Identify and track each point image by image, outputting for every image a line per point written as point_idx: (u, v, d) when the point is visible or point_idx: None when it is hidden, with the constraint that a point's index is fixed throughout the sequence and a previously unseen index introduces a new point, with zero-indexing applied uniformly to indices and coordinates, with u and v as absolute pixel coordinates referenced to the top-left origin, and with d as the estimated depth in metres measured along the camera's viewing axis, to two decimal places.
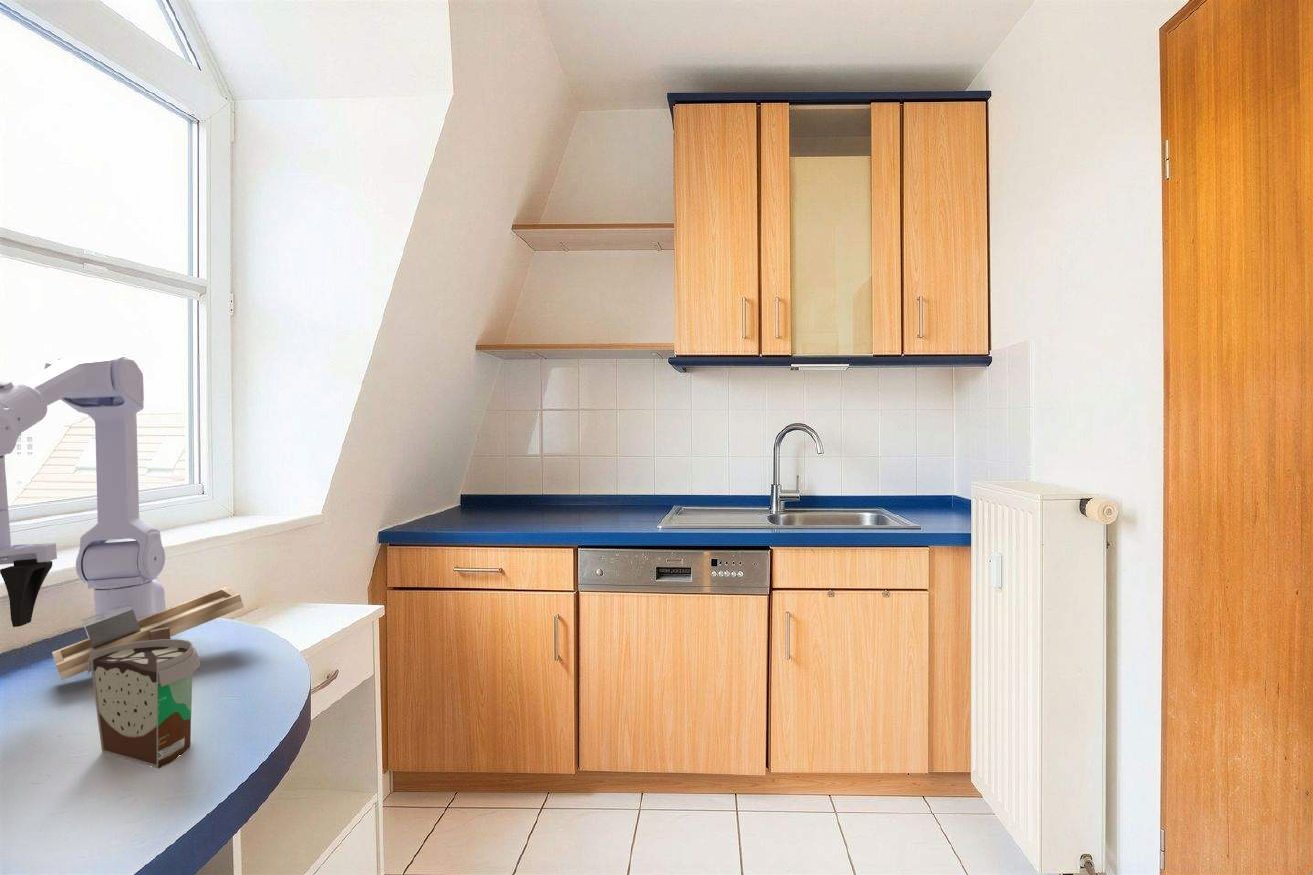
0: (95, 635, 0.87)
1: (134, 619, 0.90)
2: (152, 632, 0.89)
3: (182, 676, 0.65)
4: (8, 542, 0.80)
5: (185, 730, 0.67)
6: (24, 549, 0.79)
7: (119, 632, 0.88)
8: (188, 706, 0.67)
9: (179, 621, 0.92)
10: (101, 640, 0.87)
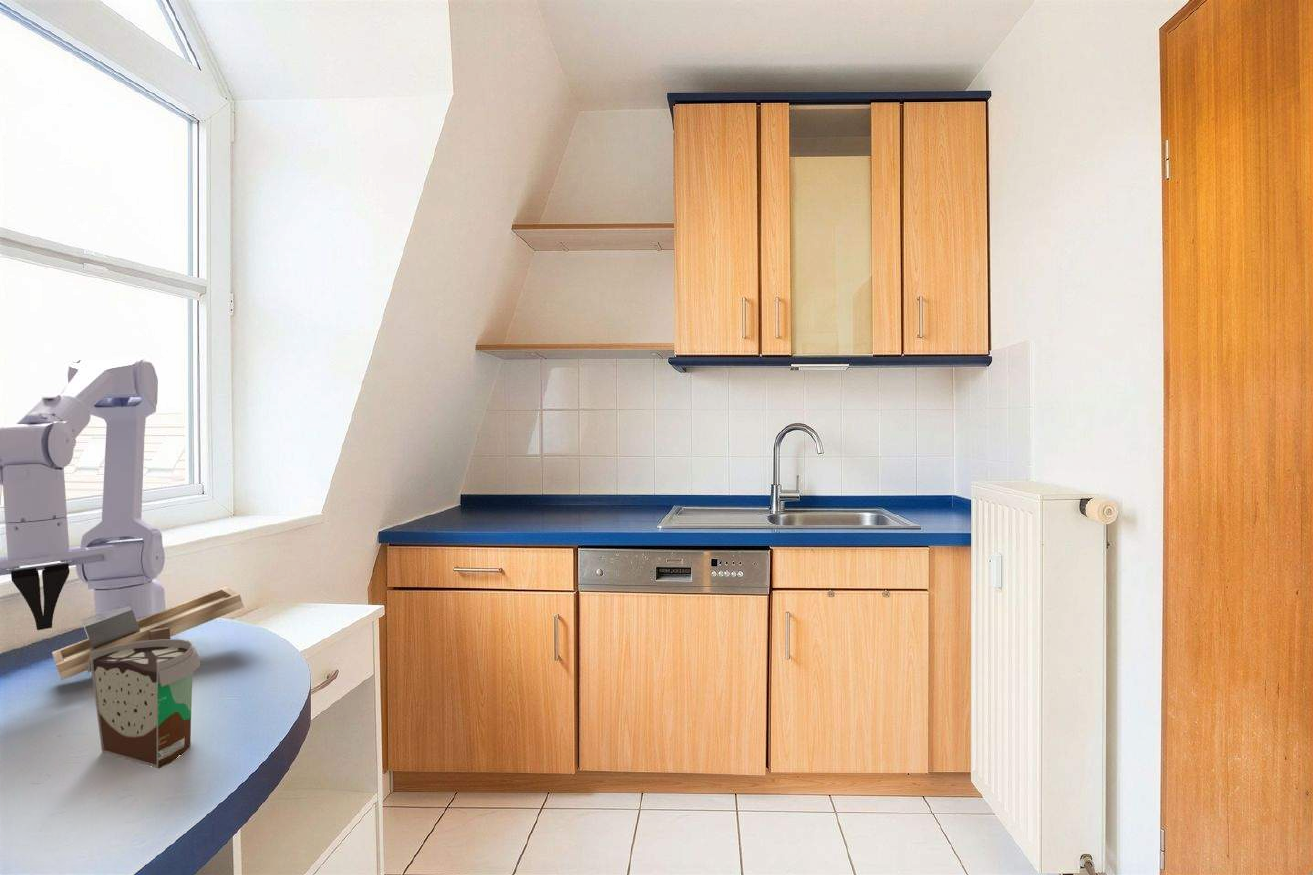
0: (95, 636, 0.87)
1: (133, 619, 0.90)
2: (152, 632, 0.89)
3: (182, 676, 0.65)
4: None
5: (185, 730, 0.67)
6: (95, 550, 0.88)
7: (118, 632, 0.88)
8: (188, 706, 0.67)
9: (179, 621, 0.92)
10: (100, 640, 0.87)
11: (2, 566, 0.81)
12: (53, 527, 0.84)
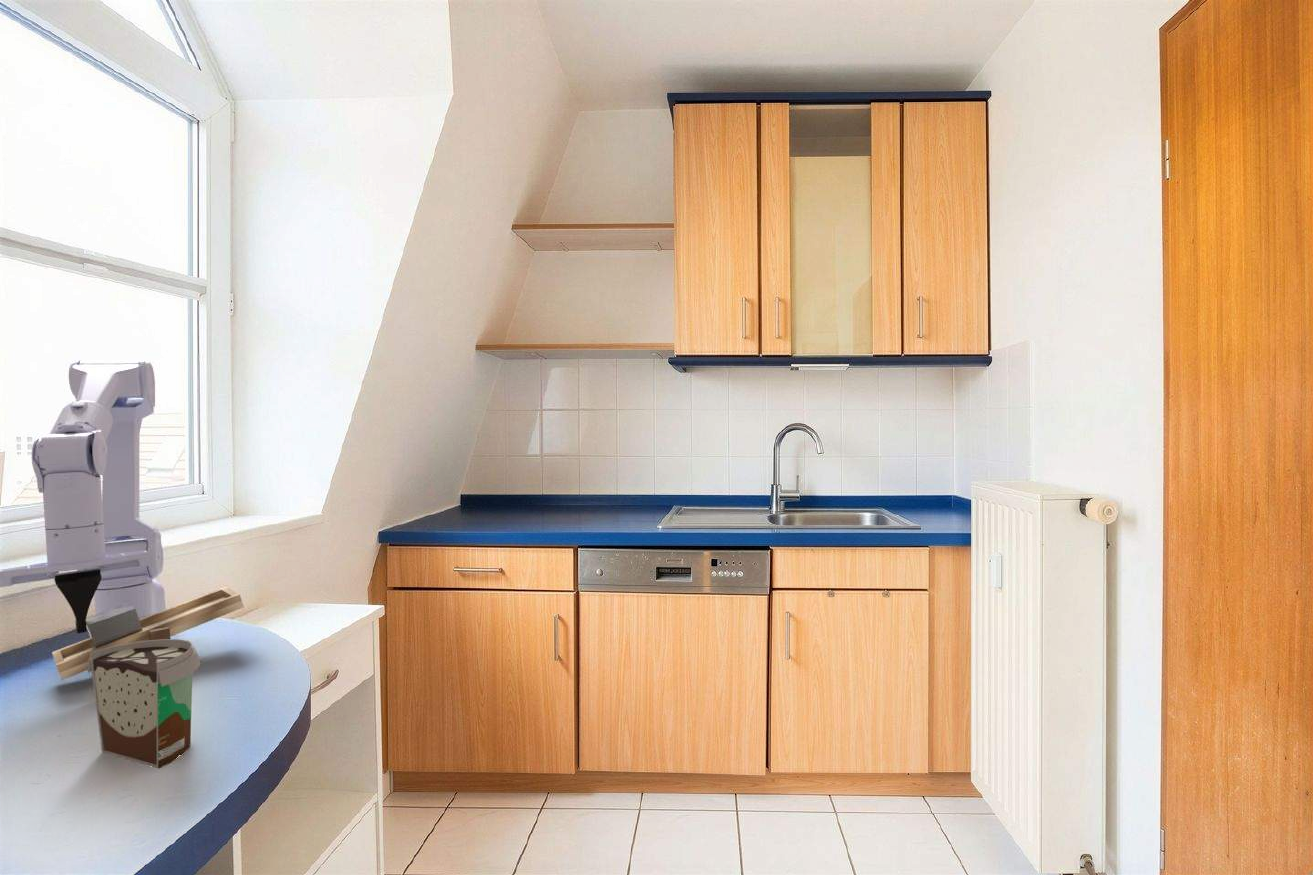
0: (97, 634, 0.87)
1: (136, 618, 0.90)
2: (152, 632, 0.89)
3: (182, 676, 0.65)
4: None
5: (185, 730, 0.67)
6: (130, 556, 0.90)
7: (120, 631, 0.89)
8: (188, 706, 0.67)
9: (179, 621, 0.92)
10: (103, 639, 0.87)
11: (43, 571, 0.84)
12: (91, 533, 0.87)
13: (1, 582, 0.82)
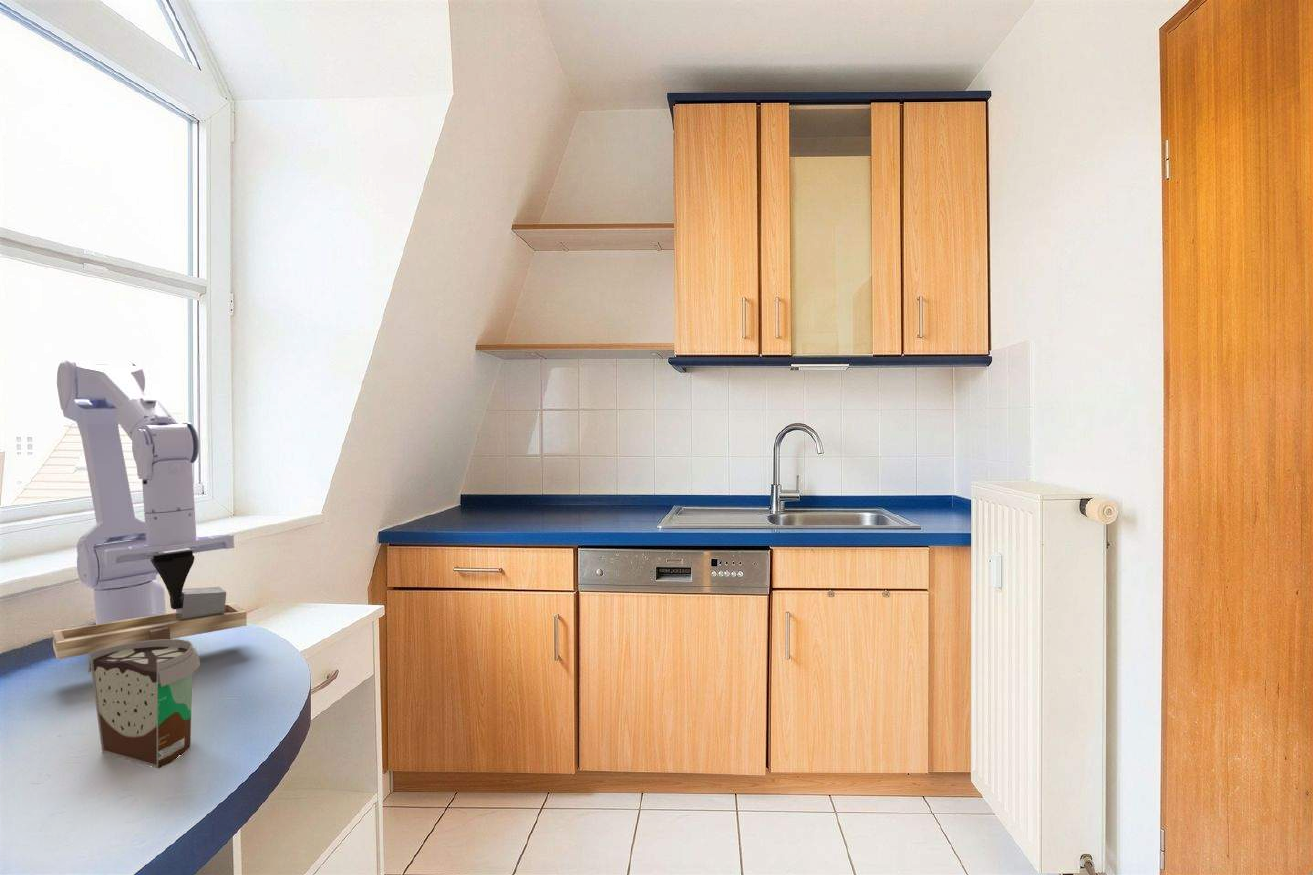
0: (188, 605, 0.94)
1: (223, 601, 0.97)
2: (152, 632, 0.89)
3: (182, 676, 0.65)
4: None
5: (185, 730, 0.67)
6: (218, 538, 0.97)
7: (207, 609, 0.95)
8: (188, 706, 0.67)
9: (183, 625, 0.92)
10: (190, 611, 0.94)
11: (144, 552, 0.91)
12: (185, 517, 0.94)
13: (108, 561, 0.89)
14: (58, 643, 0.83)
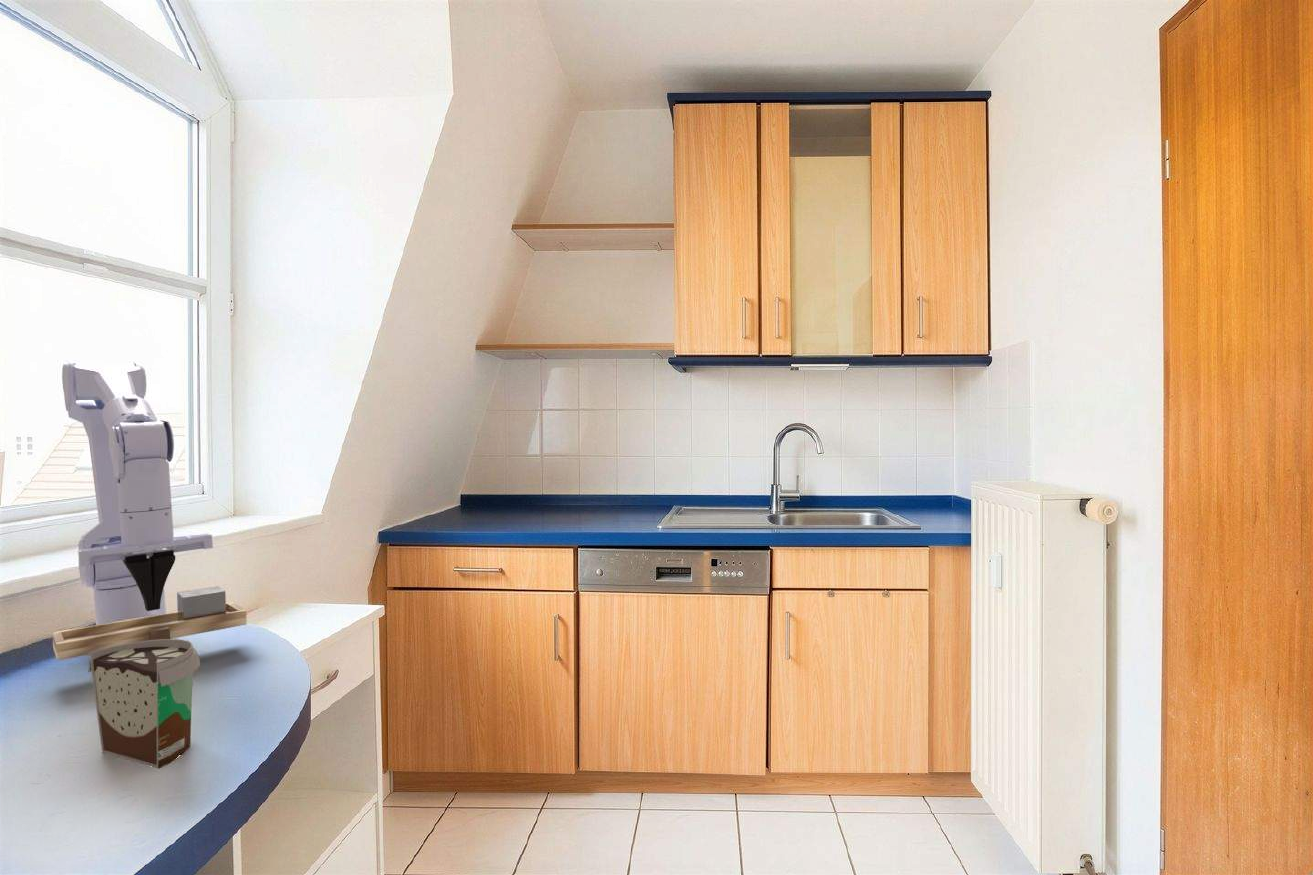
0: (188, 608, 0.94)
1: (223, 601, 0.97)
2: (152, 632, 0.89)
3: (182, 676, 0.65)
4: None
5: (185, 730, 0.67)
6: (196, 538, 0.96)
7: (208, 610, 0.95)
8: (188, 706, 0.67)
9: (183, 625, 0.92)
10: (191, 613, 0.94)
11: (119, 552, 0.89)
12: (162, 517, 0.92)
13: (81, 561, 0.87)
14: (58, 644, 0.83)
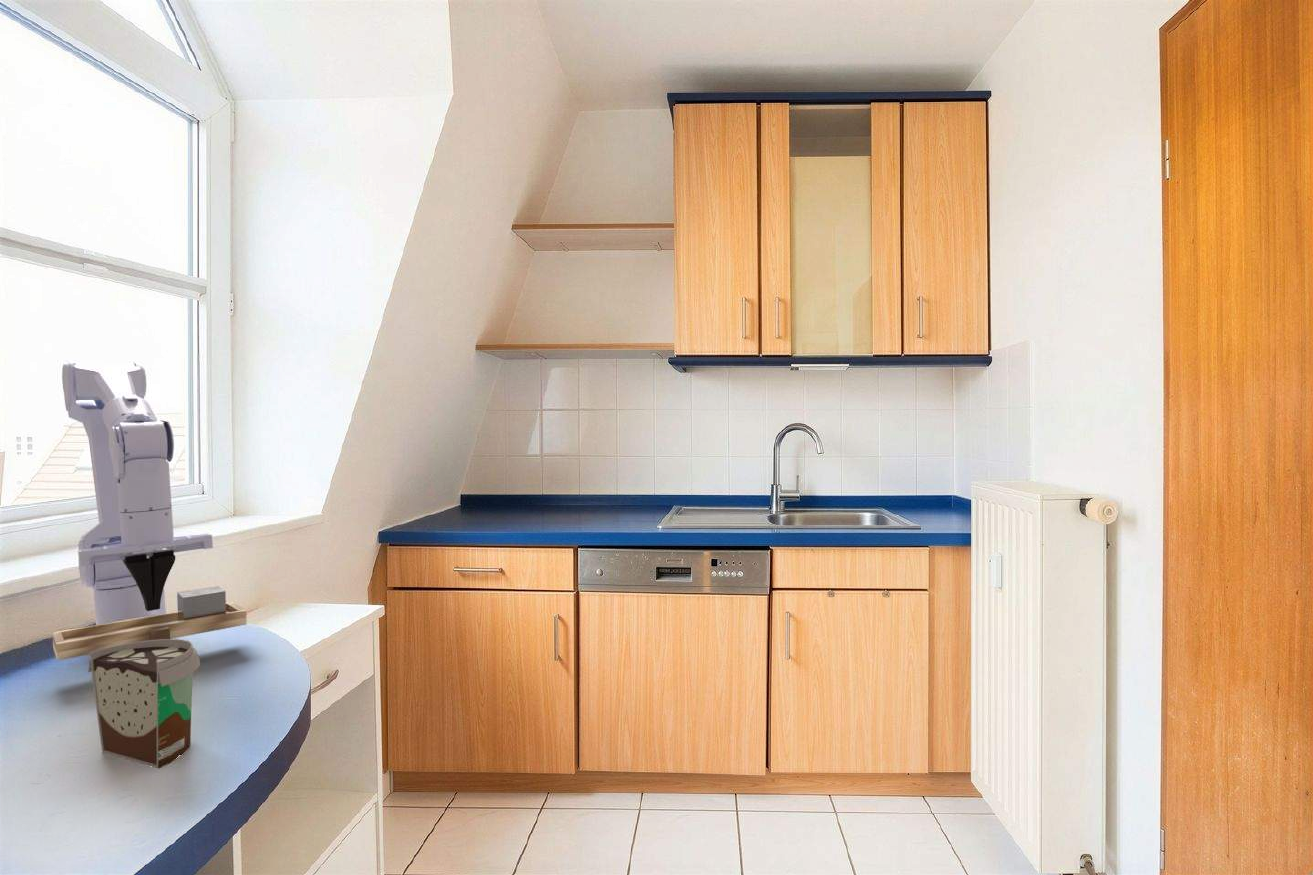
0: (188, 608, 0.94)
1: (224, 601, 0.97)
2: (152, 632, 0.89)
3: (182, 676, 0.65)
4: None
5: (185, 730, 0.67)
6: (196, 538, 0.96)
7: (208, 610, 0.95)
8: (188, 706, 0.67)
9: (183, 625, 0.92)
10: (192, 613, 0.94)
11: (119, 552, 0.89)
12: (162, 517, 0.92)
13: (81, 561, 0.87)
14: (58, 644, 0.83)
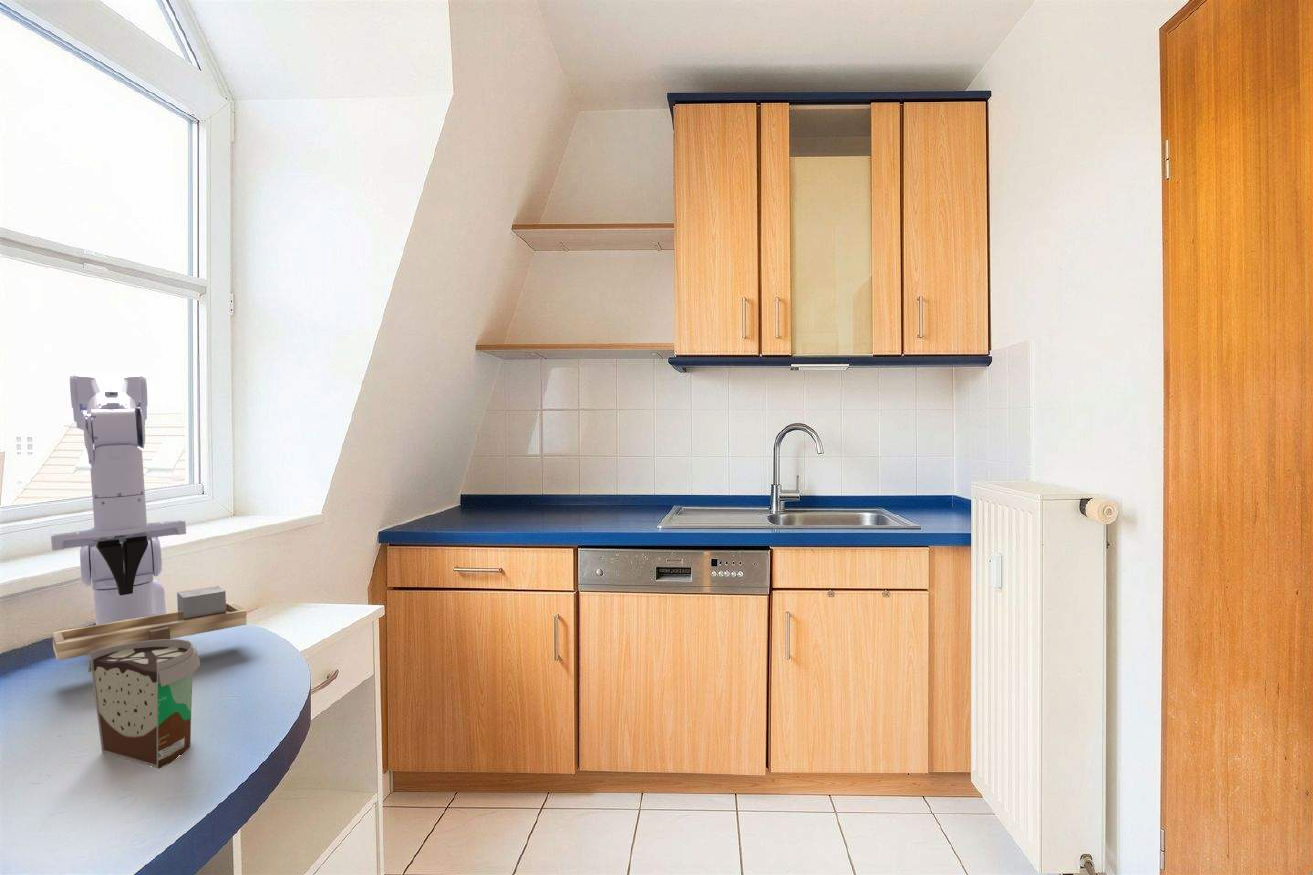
0: (188, 608, 0.94)
1: (224, 601, 0.97)
2: (152, 632, 0.89)
3: (182, 676, 0.65)
4: None
5: (185, 730, 0.67)
6: (169, 524, 0.97)
7: (208, 610, 0.95)
8: (188, 706, 0.67)
9: (183, 625, 0.92)
10: (192, 613, 0.94)
11: (91, 537, 0.90)
12: (134, 502, 0.93)
13: (54, 546, 0.88)
14: (58, 644, 0.83)
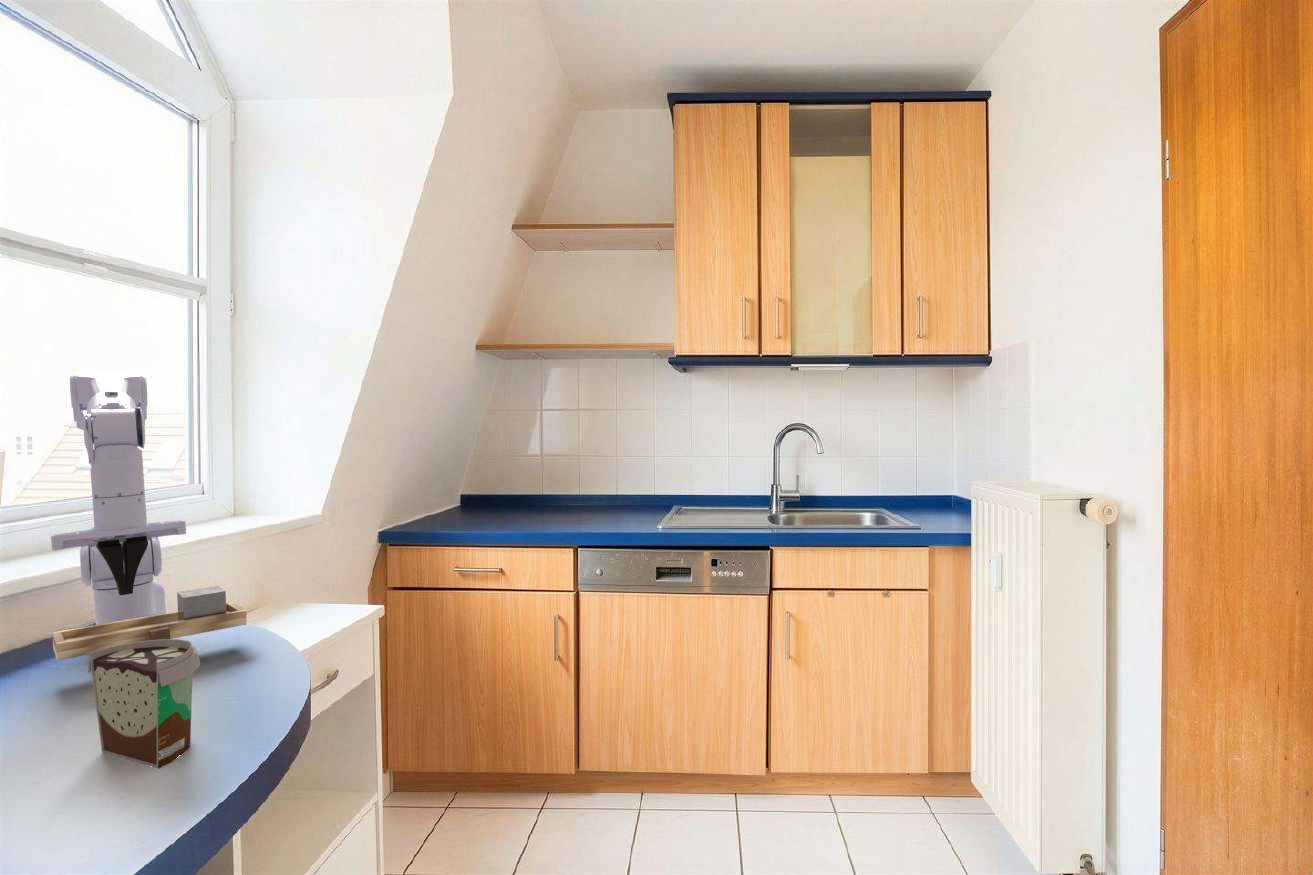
0: (188, 608, 0.94)
1: (224, 601, 0.97)
2: (152, 632, 0.89)
3: (182, 676, 0.65)
4: None
5: (185, 730, 0.67)
6: (169, 524, 0.97)
7: (208, 610, 0.95)
8: (188, 706, 0.67)
9: (183, 625, 0.92)
10: (192, 613, 0.94)
11: (91, 537, 0.90)
12: (134, 502, 0.93)
13: (54, 546, 0.88)
14: (58, 644, 0.83)
